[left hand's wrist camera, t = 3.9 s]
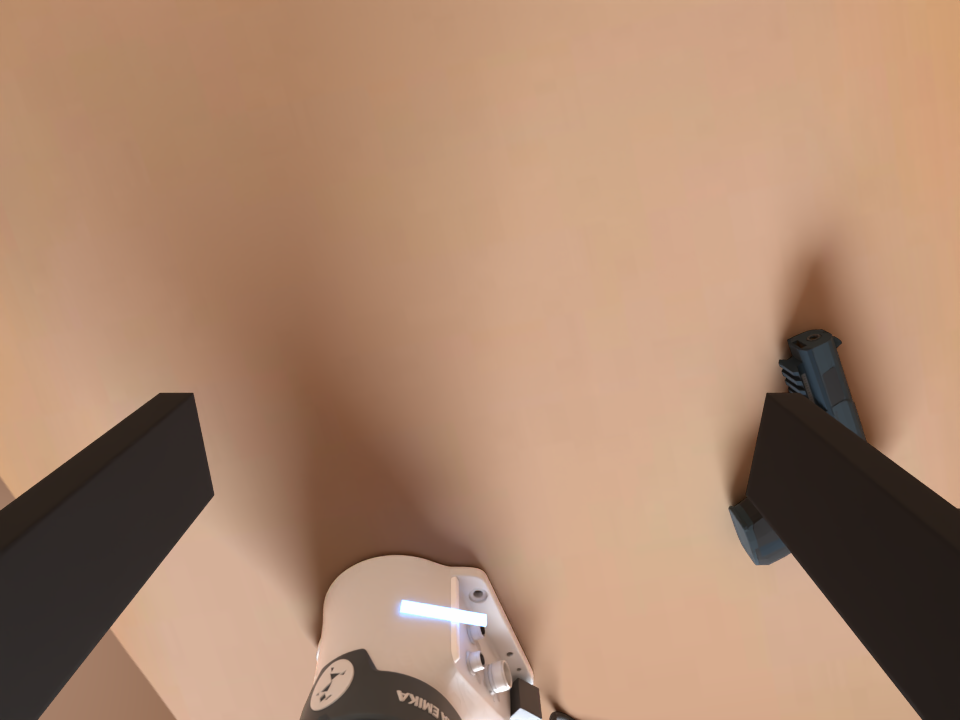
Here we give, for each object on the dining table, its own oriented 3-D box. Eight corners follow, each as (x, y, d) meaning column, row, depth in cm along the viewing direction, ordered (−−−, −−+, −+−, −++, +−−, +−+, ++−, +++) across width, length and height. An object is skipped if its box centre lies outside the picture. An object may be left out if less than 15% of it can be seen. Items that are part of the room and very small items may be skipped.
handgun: (673, 388, 43) (823, 321, 41) (743, 549, 48) (879, 496, 46) (687, 405, 40) (850, 333, 38) (760, 575, 45) (906, 519, 43)
